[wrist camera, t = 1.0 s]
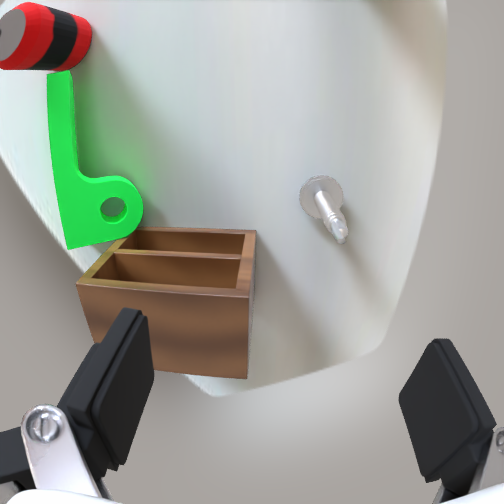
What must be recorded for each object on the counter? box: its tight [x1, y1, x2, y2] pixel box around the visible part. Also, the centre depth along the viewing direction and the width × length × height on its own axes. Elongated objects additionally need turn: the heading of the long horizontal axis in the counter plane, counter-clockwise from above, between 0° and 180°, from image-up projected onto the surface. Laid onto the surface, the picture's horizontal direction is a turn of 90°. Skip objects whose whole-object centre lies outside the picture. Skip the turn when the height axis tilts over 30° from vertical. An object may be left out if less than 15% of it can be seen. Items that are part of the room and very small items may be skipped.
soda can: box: [0, 2, 92, 71], centre depth 22 cm, size 8×8×12 cm
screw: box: [299, 175, 348, 244], centre depth 29 cm, size 13×5×5 cm
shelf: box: [76, 227, 256, 379], centre depth 34 cm, size 10×16×14 cm, turn 89°
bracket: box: [47, 70, 143, 250], centre depth 32 cm, size 20×10×7 cm
